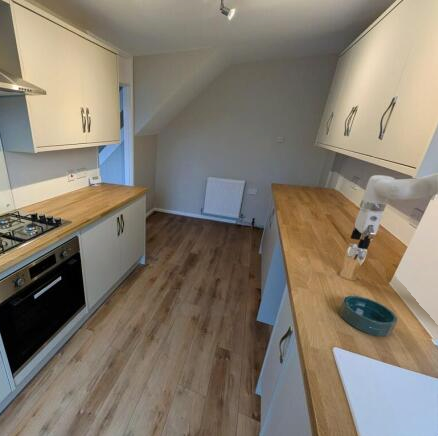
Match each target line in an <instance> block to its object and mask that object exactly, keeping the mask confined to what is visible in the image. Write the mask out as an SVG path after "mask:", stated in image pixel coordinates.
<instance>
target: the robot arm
mask: <svg viewBox="0 0 438 436" xmlns="http://www.w3.org/2000/svg"><path fill="white" fill-rule="evenodd" d="M435 195H438V171H437V172H434V173H430V174H427V175H424V176H423V175H422V176H420V177H416V178H403V179H396V178H394V177H393V176H390V175H380V174H376V175H375V174H374V175H371V176H370V177H369V179H368V181H367V184H366V187H365V190H364V193H363V196H362V199H361V202H360V204H359V211H358V214H357V216H356V219H355V222H354V226H353V229H352V232H351V235H350V239H352V240H358V241H359V242H358V243H357V244H358V248H362V249H368V250H369V246H370V244H371V241H372V240H373V238H374V236H376V235H377V233H378V230H379V227H380V224H381V221H382V216H383V213H384V212H385V209H386V206H387V204H388V203H389V199H390V200H393V201H405V200H416V199H422V198H427V197H432V196H435Z"/></svg>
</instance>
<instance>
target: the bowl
mask: <svg viewBox="0 0 438 436" xmlns="http://www.w3.org/2000/svg"><path fill="white" fill-rule="evenodd" d="M339 314H340V316H341V318H342V319H343V320H344V321H345V322H346V323H347V324H349V325H350V326H352V327H354V328H355V329H357V330H360V331H361V332H363V333H366V334H369V335H373V336H376V337H388V336H390V335H392V334H393V331H394V329H395V327H396V325H397V324H398V317H397V315H396V314H395V312H393V311H392V310H391V309H390V308H388V307H387V306H385V305H383V304H382V303H380V302H378V301H375V300H373V299H370V298H367V297H363V296H359V295H349V296H345V297H344V298H343V301H342V304H341V306H340V309H339Z"/></svg>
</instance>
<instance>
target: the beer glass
mask: <svg viewBox="0 0 438 436" xmlns="http://www.w3.org/2000/svg"><path fill="white" fill-rule="evenodd" d="M358 244H359V243H349V244H348V245H347V247H346V249H345V252H344V255H343V256H344V257H343V262H342V263H343V264H342V268H341V270H340V271H339V273H338V274H339V276H341V277H342V278H344V279H346V280H351V281H356V280H357V277H358V271H359V270H360V269H361V267H362V265H363V264H364V263H365V260H366V258H367V255H368V250H369V248H368V249H362V248H358Z"/></svg>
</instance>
